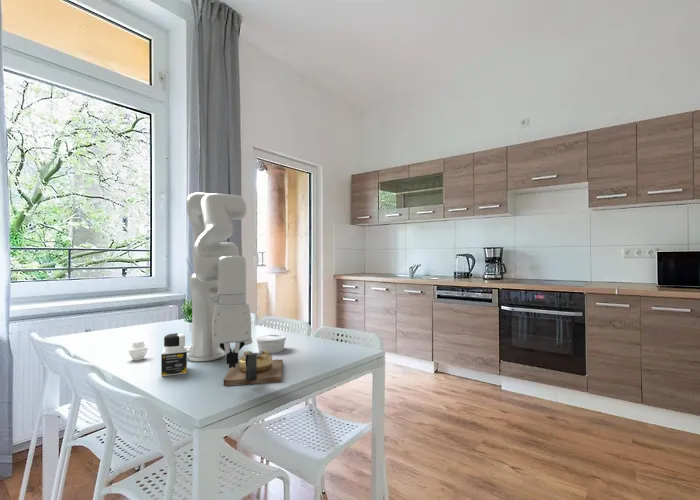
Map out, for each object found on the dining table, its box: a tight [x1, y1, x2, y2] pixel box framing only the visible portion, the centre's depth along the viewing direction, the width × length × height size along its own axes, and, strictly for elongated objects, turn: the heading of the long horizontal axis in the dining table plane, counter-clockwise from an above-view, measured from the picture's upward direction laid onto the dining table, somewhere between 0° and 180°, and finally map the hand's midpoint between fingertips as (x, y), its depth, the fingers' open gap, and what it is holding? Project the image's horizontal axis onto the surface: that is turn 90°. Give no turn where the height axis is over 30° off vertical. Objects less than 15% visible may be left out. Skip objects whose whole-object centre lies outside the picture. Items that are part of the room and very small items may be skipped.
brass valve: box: [238, 350, 273, 381], centre depth 107 cm, size 18×10×7 cm, turn 9°
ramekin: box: [255, 334, 287, 355], centre depth 139 cm, size 11×11×5 cm
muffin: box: [127, 339, 149, 361], centre depth 129 cm, size 6×6×7 cm
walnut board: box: [223, 359, 284, 386], centre depth 111 cm, size 16×18×2 cm
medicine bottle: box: [160, 332, 188, 377], centre depth 114 cm, size 7×7×12 cm
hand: (232, 366), depth 99 cm, fingers closed
